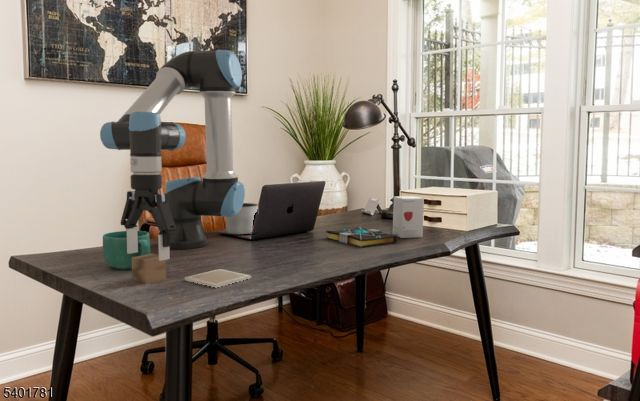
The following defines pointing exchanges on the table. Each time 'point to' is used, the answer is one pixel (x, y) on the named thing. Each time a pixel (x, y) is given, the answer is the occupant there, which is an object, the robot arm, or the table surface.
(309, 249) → the table surface
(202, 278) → the coaster
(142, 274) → the walnut cube
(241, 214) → the planter
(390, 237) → the book
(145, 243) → the mug
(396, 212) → the supplement box
